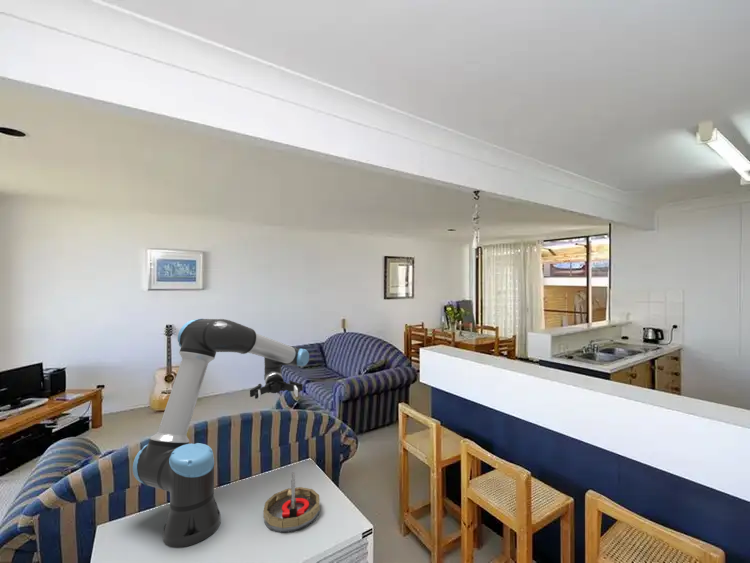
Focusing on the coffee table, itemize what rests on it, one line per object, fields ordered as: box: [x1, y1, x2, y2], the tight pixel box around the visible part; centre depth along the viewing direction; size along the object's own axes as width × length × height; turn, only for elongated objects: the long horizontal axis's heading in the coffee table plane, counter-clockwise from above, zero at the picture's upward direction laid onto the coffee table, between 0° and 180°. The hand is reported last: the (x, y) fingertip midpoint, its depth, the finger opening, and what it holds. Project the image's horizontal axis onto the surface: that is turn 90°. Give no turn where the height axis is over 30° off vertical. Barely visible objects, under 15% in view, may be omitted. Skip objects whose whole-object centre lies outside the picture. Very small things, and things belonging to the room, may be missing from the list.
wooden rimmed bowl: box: [262, 486, 321, 534], centre depth 108 cm, size 17×17×4 cm
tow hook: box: [282, 472, 309, 518], centre depth 108 cm, size 8×13×9 cm
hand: (278, 395), depth 127 cm, fingers open, 13 cm apart
